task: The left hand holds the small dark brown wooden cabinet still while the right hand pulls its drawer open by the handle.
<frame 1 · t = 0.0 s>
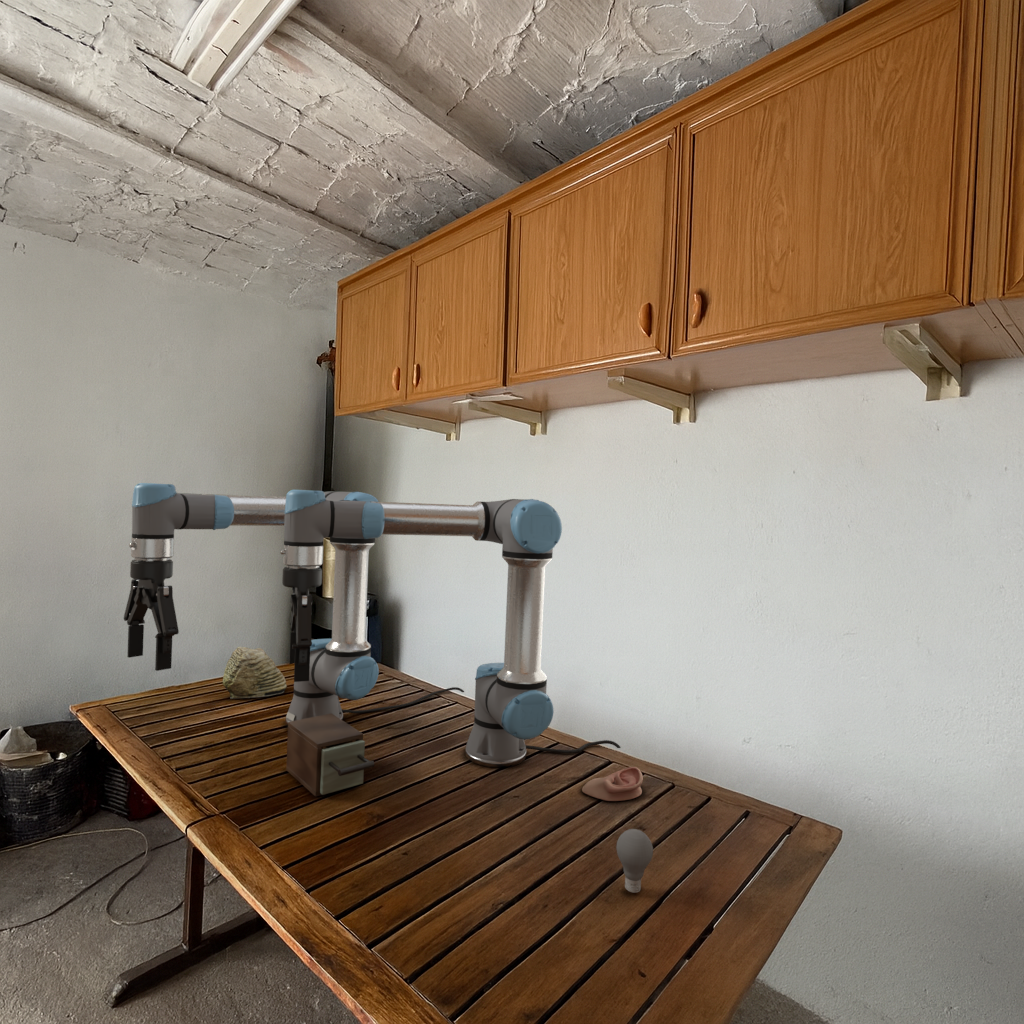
left hand: (148, 662, 129), 28 cm above the table, tool pointing down, fingers open, 13 cm apart
right hand: (298, 671, 128), 28 cm above the table, tool pointing down, fingers open, 13 cm apart
cabinet: (323, 776, 143), on the table
light bulb: (632, 891, 106), on the table
anatomical model: (612, 790, 142), on the table
drawer: (335, 760, 139), point 6 cm above the table, slide at 0.8 cm
fossil: (254, 694, 198), on the table
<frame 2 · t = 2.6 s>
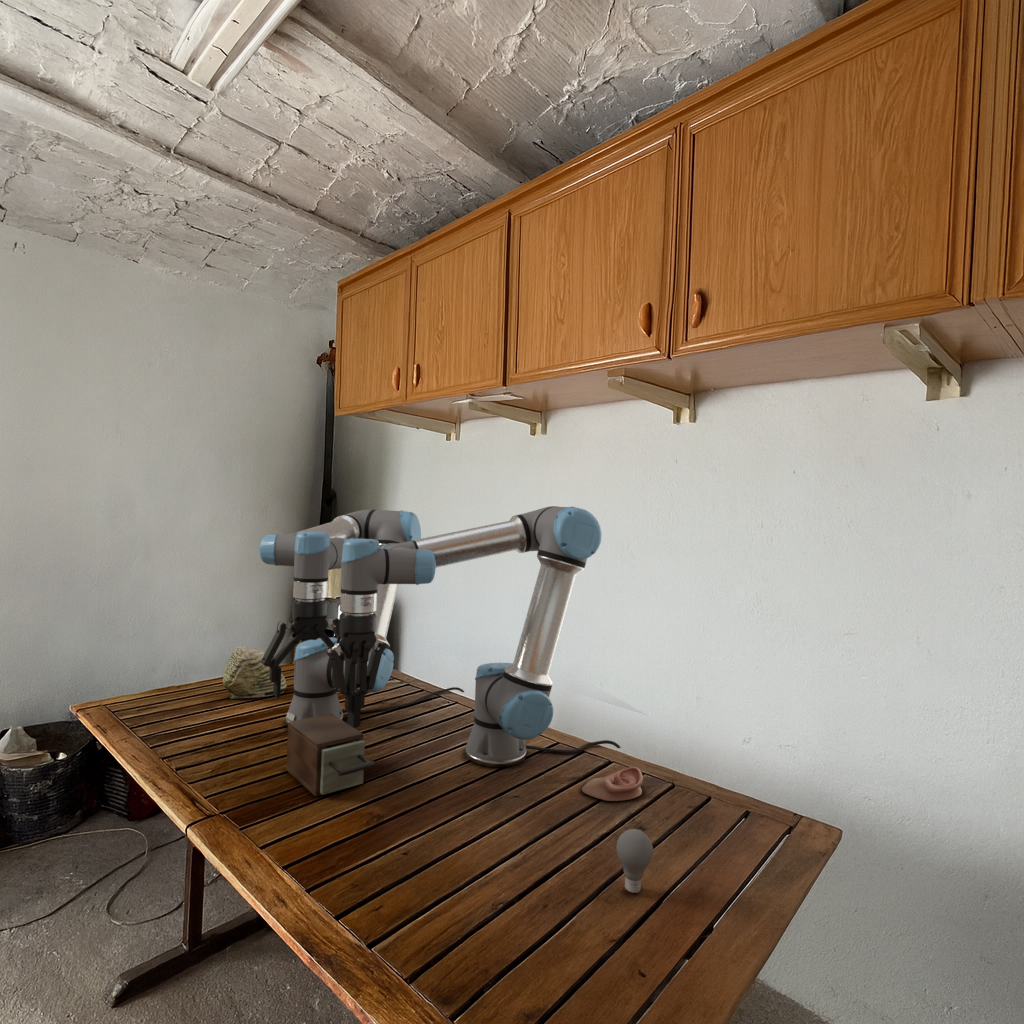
left hand: (306, 691, 145), 18 cm above the table, tool pointing down, fingers open, 13 cm apart
right hand: (353, 724, 133), 16 cm above the table, tool pointing down, fingers closed
nothing on the table moved.
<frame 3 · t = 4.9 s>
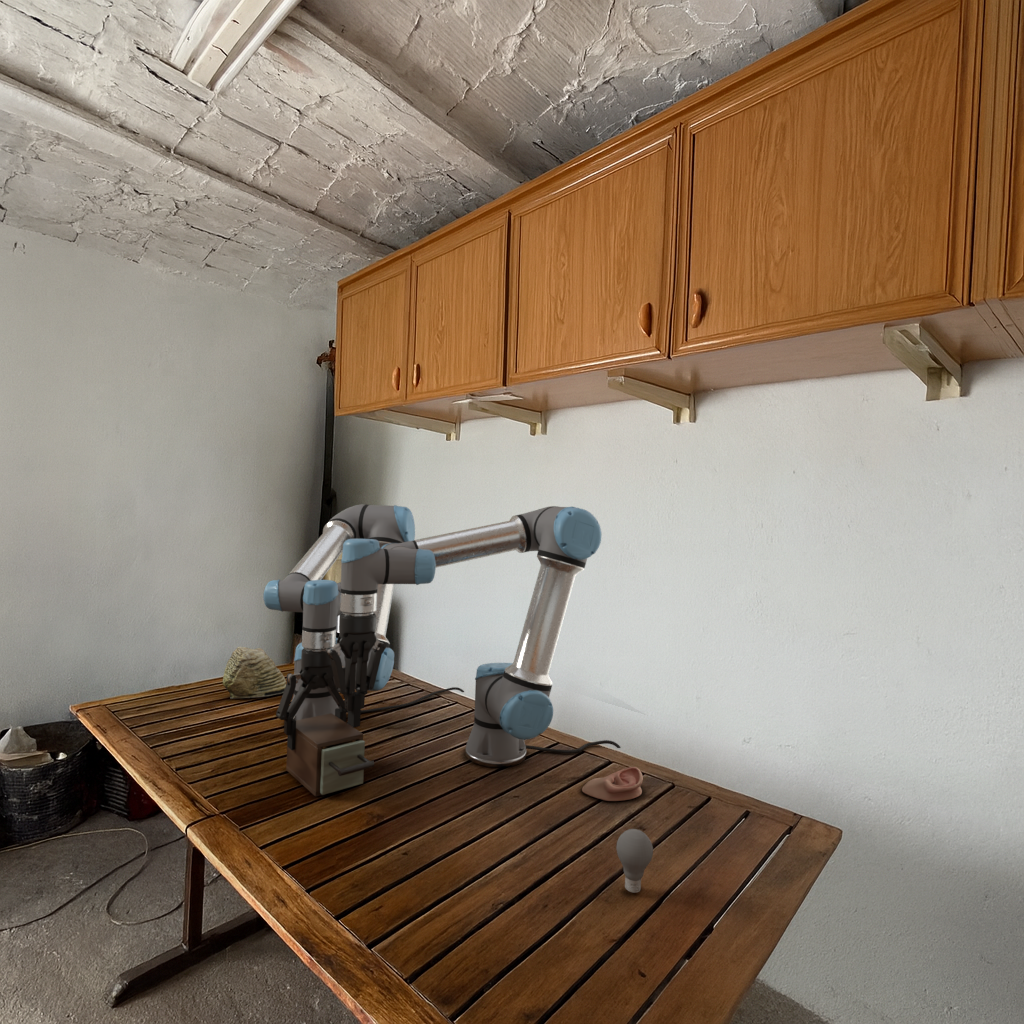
left hand: (315, 742, 147), 6 cm above the table, tool pointing down, fingers closed on cabinet, 11 cm apart
right hand: (353, 724, 133), 16 cm above the table, tool pointing down, fingers closed
cabinet: (323, 776, 143), on the table, touching left hand
everything else where it was.
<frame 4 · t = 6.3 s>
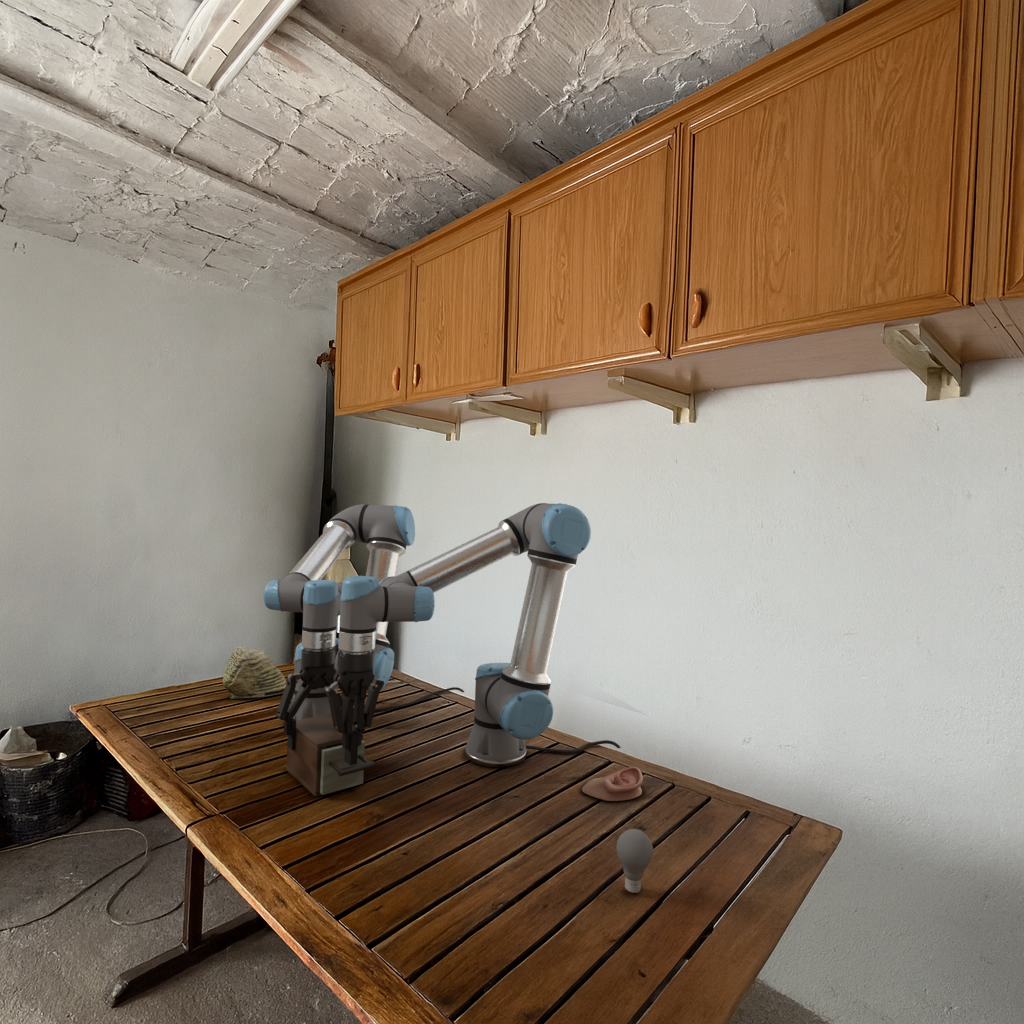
left hand: (315, 742, 147), 6 cm above the table, tool pointing down, fingers closed on cabinet, 11 cm apart
right hand: (350, 762, 133), 8 cm above the table, tool pointing down, fingers closed
cabinet: (323, 776, 143), on the table, touching left hand
drawer: (335, 760, 139), point 6 cm above the table, slide at 0.8 cm, touching right hand
everything else where it was.
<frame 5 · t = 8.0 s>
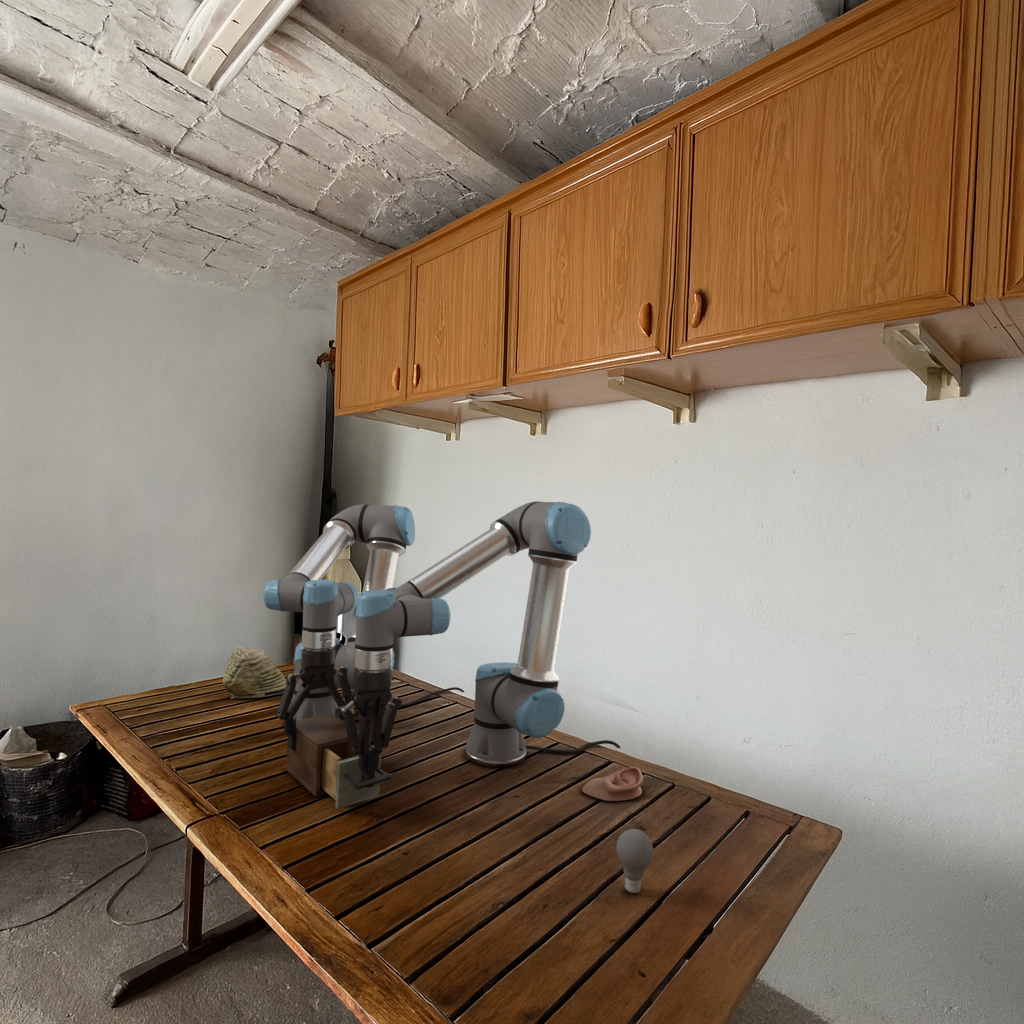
left hand: (315, 742, 147), 6 cm above the table, tool pointing down, fingers closed on cabinet, 11 cm apart
right hand: (367, 784, 128), 6 cm above the table, tool pointing down, fingers closed
cabinet: (323, 776, 143), on the table, touching left hand
drawer: (350, 772, 133), point 6 cm above the table, slide at 8.0 cm, touching right hand
everything else where it was.
when the left hand's fingers open (6 cm above the table, at t = 9.8 s): cabinet stays where it is, on the table.
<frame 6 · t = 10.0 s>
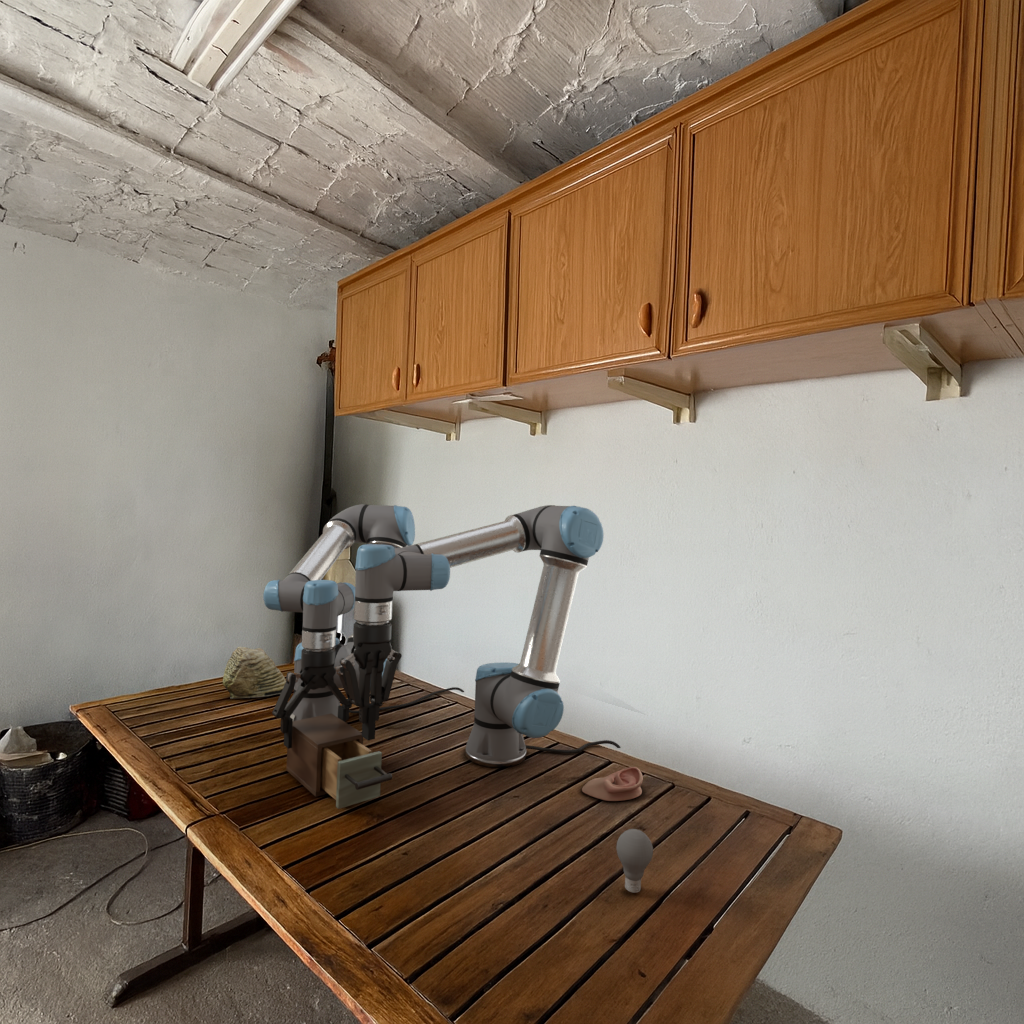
left hand: (315, 740, 147), 7 cm above the table, tool pointing down, fingers open, 12 cm apart
right hand: (368, 737, 128), 15 cm above the table, tool pointing down, fingers closed
cabinet: (323, 777, 143), on the table
drawer: (350, 772, 133), point 6 cm above the table, slide at 8.1 cm
everything else where it was.
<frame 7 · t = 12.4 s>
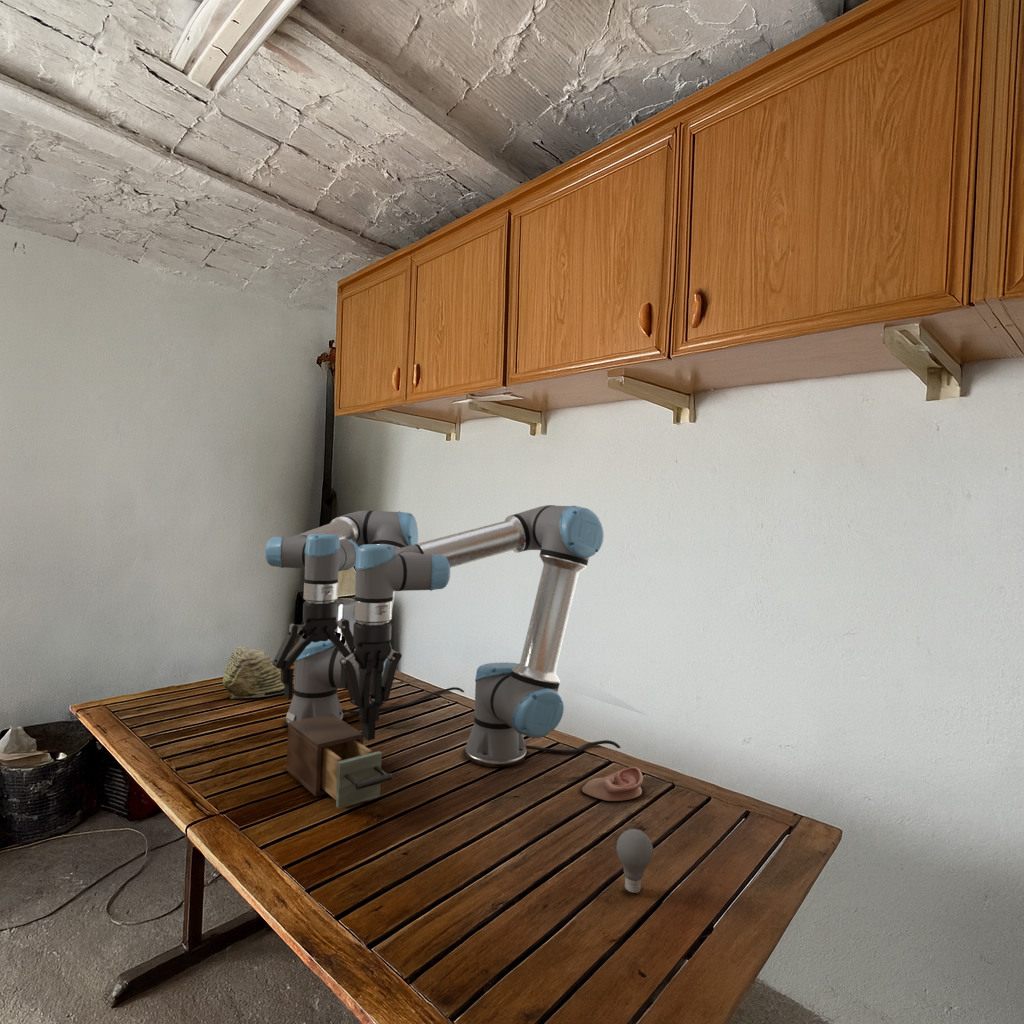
left hand: (316, 692, 146), 18 cm above the table, tool pointing down, fingers open, 13 cm apart
right hand: (368, 737, 128), 15 cm above the table, tool pointing down, fingers closed
nothing on the table moved.
at the end: drawer slide at 8.1 cm; cabinet tilted 0°; cabinet never tilted more than 1° during the clip; cabinet moved 0.1 cm from its start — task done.
